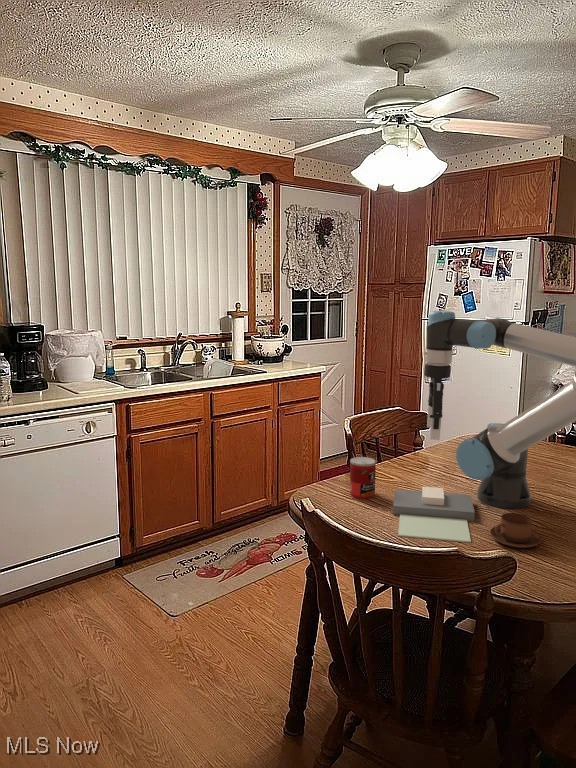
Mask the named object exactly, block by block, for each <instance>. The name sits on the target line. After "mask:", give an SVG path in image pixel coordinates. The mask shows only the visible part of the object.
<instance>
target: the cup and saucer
mask: <svg viewBox="0 0 576 768" xmlns="http://www.w3.org/2000/svg"><path fill="white" fill-rule="evenodd" d="M533 522H534V521H533V518H531V517H529V516H528V515H525V514H522V513H519V512H517V513H516V512H506V513H502V514H501V516H500V523H498V524H496V526H494V527H492V528H491V529H490V535H491V537H492V538H493V539H494V540H496V541H497V542H499V543H500V544H503V545H504V546H509V547H511V548H517V549H518V548H519V549H520V548H521V549H526V548H527V549H528V548H533V547H536V546H537V545H540V544H541V542H542V539H543V537H542V536H541V535H540V534H539V532H537V531H535V530H533Z"/></svg>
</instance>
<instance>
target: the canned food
mask: <svg viewBox="0 0 576 768" xmlns="http://www.w3.org/2000/svg"><path fill="white" fill-rule="evenodd" d="M376 462H377V461H376V460H375V459H374V458H371V457H367V456H356V457H352V458H350V461H349V463H350V464H349V493H350V495H351V497H352V498H356V499H360V500H363V499H364V500H367V499H372V498H373V497H375V494H376V470H377V469H376V468H377V467H376Z"/></svg>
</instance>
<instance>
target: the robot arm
mask: <svg viewBox="0 0 576 768" xmlns="http://www.w3.org/2000/svg"><path fill="white" fill-rule="evenodd" d="M426 329H427V330H426V331H427V333H426V349H425V350H426V351H424V352H423V355H424V356H425V360H424V361H425V364H424V373H423V374H424V377H426V378H430V381H429V383H428V384H429V385H428V386H429V387H428V388H429V389H428V391H429V392H428V399H427V405H428V406H427V409H428V410H427V421H426V422H427V423H426V427H427V428H430V429H429V430H430V433H429V434H430V435H429V440H433V441H435V440H436V441H440V440H441V427H442V418H443V396H444V389H445V384H444V382H443V381H442V380H443V379H449V378H450V377H451V371H452V365H451V364H452V361H453V346H458V347H466V348H472V349H473V348H474V349H475V350H480V349H481V350H482V349H485V350H486V349H490V348H491V347H492V346H496V347H500V348H504V349H508V350H512V351H516V352H519V353H522V354H526V355H531V356H533V357H534V356H535V357H538V358H542V359H544V360H549V361H553V362H556V363H561V364H564V365H568V366H571V367H575V368H576V337H575V336H571V335H568V334H563V333H558V332H553V331H550V330H545V329H541V328H536V327H533V326H528V325H524V324H519V323H515V322H510V321H509V319H506V318H500V317H497V318H489V319H473V320H471V319H470V320H469V319H458V318H456V314H455V312H454V311H449V310H432V311H430V312H429V313H428V320H427V325H426ZM575 422H576V370H575V371H574V373H573V379H572V381H570V382H568V383H567V384H564V385H563V386H562V387H560V388H558V389H557V390H555V391H554V392H552V393H550V394H549V395H548V396H546V397H544V398H543V399H541V400H540V401H538V402H536V403H535V404H533V405H532V406H531V407H529V408H527V409H526V410H524V411H522V412H521V413H519V414H518V415H516V416H514V417H513V418H511V419H510V420H508V421H507V422H505V423H500V422H491V423H488V424H487V426H486V428H485V429H483V430H482V431H480V432H479V433H477V434H476V435H474V436H472V437H467V438H464V439H463V440H462V441H461V442H460V443H459V444H458V446H457V448H456V453H455V454H456V455H455V458H456V459H455V460H456V463H457V465H458V467H459V469H460V470H461V471H460V472H462V473H463V474H464V475H466V477H468V478H470V479H472V480H475V481H479V480H480V483H479V485H478V488H477V493H476V494H477V495H476V496H477V497H476V498H477V499H478V500H479V501H480V502H482V503H483V504H486V505H489V506H492V507H496V508H502V509H503V508H504V509H521V508H526V507H529V506H530V505H531V503H532V501H531V500H532V494H531V490H530V486H529V483H528V480H527V468H528V456H529V455H528V452H529V448H531V447H533V446H535V445H536V444H538V443H540V442H542V441H544V440H545V439H547V438H548V437H550V436H552V435H554V434H556V433H557V432H559V431H561V430H562V429H565V427H568V426H569V425H571V424H573V423H575Z"/></svg>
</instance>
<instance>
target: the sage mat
mask: <svg viewBox="0 0 576 768" xmlns="http://www.w3.org/2000/svg"><path fill="white" fill-rule="evenodd" d="M397 537H403V538H404V537H405V538H406V537H407V538H416V539H426V540H438V541H449V542H458V543H459V542H460V543H472V540H471V534H470V530H469V525H468V521H467V520H464V519H452V518H440V517H428V516H416V515H404V514H400V515H399V521H398V531H397Z"/></svg>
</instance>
